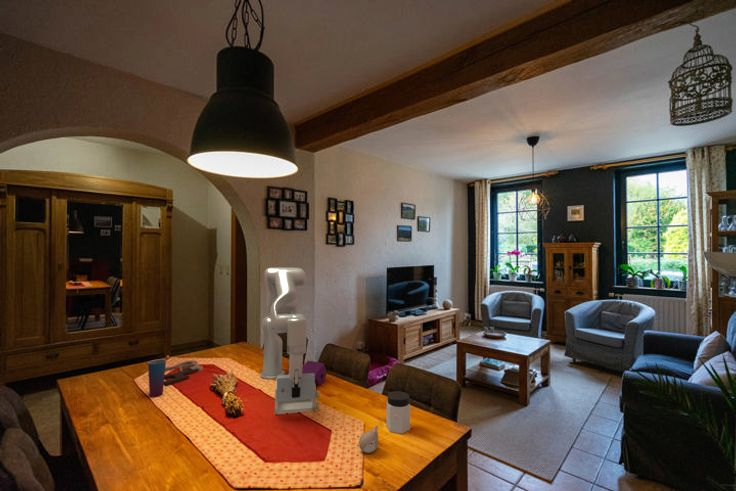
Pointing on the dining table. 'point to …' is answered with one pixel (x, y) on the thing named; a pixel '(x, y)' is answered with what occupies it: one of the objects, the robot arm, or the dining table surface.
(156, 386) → the cup
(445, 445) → the dining table surface
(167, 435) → the dining table surface
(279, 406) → the cabinet
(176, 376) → the wood carving
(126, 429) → the dining table surface
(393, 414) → the jar
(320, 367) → the mounting bracket
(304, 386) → the door
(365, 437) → the garlic bulb
